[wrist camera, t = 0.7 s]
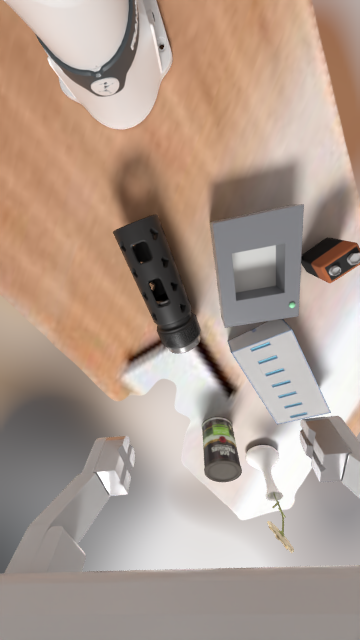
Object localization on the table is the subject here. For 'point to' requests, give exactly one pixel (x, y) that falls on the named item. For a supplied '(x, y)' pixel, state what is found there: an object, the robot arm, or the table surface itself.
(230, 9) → the table surface
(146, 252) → the muzzle brake
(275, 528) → the flower in vase
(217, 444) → the coffee can
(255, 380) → the white slatted block
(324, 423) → the robot arm
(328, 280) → the battery
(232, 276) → the dock
